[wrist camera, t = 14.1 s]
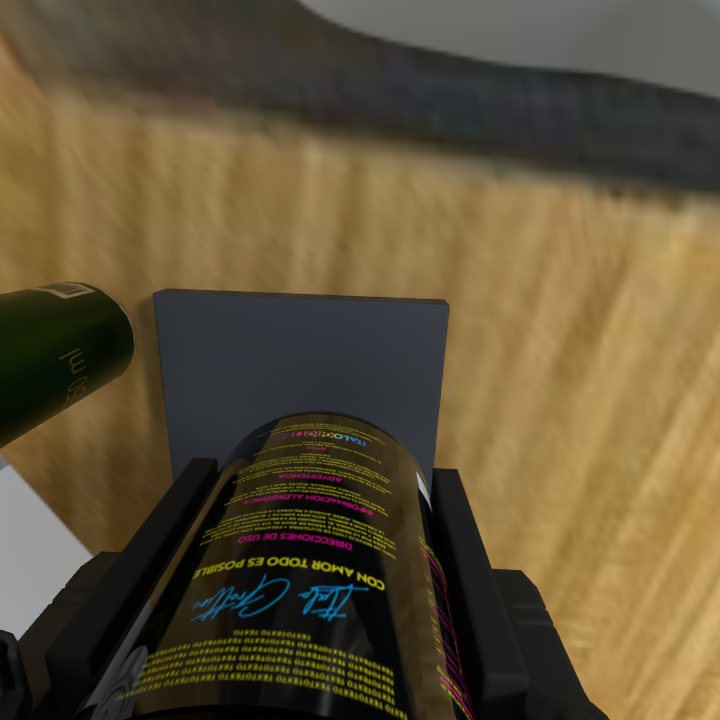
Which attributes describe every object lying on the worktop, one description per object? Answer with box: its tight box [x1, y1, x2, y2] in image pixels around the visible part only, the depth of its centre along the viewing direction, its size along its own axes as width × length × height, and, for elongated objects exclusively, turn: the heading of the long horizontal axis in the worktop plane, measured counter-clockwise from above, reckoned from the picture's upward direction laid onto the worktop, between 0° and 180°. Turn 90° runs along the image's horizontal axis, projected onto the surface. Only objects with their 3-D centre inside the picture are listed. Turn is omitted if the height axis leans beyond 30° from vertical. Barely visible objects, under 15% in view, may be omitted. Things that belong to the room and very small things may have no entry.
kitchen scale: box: [153, 289, 449, 497], centre depth 23 cm, size 14×16×3 cm
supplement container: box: [67, 410, 476, 720], centre depth 9 cm, size 7×7×10 cm
